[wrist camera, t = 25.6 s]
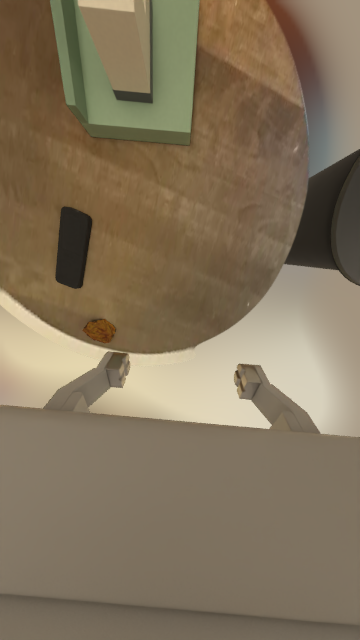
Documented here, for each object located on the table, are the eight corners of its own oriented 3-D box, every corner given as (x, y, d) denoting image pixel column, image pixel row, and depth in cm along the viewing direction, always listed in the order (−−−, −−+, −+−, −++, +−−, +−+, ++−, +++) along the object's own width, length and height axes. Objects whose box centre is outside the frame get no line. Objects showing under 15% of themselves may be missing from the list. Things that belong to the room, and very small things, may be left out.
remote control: (83, 288, 36) (92, 217, 29) (78, 291, 34) (87, 215, 28) (60, 280, 35) (66, 205, 29) (54, 282, 33) (59, 202, 27)
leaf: (106, 345, 41) (104, 349, 40) (81, 331, 39) (78, 334, 37) (120, 328, 40) (119, 332, 38) (96, 312, 37) (94, 315, 36)
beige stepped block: (152, 103, 22) (135, 12, 13) (116, 100, 21) (76, 5, 13) (152, 4, 18) (129, -198, 10) (110, -1, 18) (51, -210, 10)
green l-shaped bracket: (198, 9, 20) (205, -81, 15) (189, 145, 25) (192, 116, 20) (74, -4, 20) (33, -102, 14) (91, 136, 25) (66, 104, 20)
